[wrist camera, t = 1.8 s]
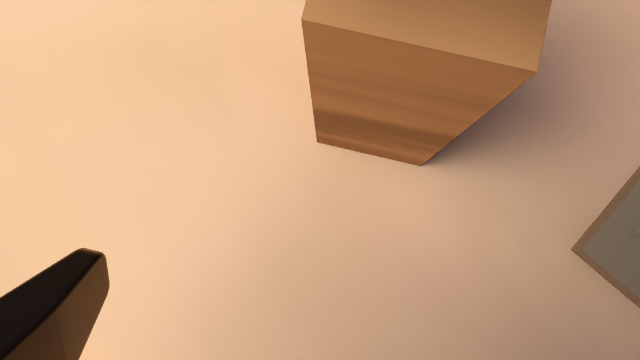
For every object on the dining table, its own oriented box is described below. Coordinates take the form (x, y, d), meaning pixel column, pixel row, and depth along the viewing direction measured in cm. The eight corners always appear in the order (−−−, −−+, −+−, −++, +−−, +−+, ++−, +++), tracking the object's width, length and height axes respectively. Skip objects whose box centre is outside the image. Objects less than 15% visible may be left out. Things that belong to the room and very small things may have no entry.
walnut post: (420, 166, 23) (536, 71, 10) (317, 142, 23) (301, 19, 10) (442, 65, 23) (582, -149, 10) (341, 42, 24) (354, -196, 11)
